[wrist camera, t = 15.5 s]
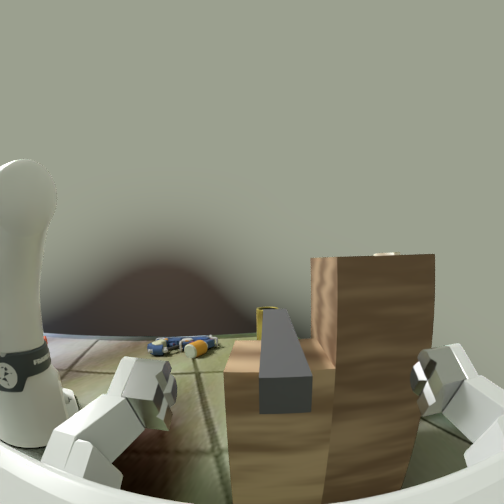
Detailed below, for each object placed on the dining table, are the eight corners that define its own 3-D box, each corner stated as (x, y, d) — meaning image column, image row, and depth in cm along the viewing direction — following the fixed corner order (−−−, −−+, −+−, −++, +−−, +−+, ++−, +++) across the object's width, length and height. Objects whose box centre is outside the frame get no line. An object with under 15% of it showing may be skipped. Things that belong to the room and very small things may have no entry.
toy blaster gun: (221, 358, 78) (217, 344, 93) (220, 343, 78) (216, 331, 93) (145, 361, 74) (152, 347, 89) (143, 346, 74) (150, 334, 89)
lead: (311, 412, 16) (313, 375, 16) (258, 414, 16) (258, 377, 16) (286, 326, 40) (286, 308, 40) (263, 327, 40) (263, 309, 40)
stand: (399, 492, 22) (434, 250, 22) (233, 509, 23) (219, 255, 23) (367, 434, 36) (378, 253, 36) (242, 443, 37) (236, 257, 37)
